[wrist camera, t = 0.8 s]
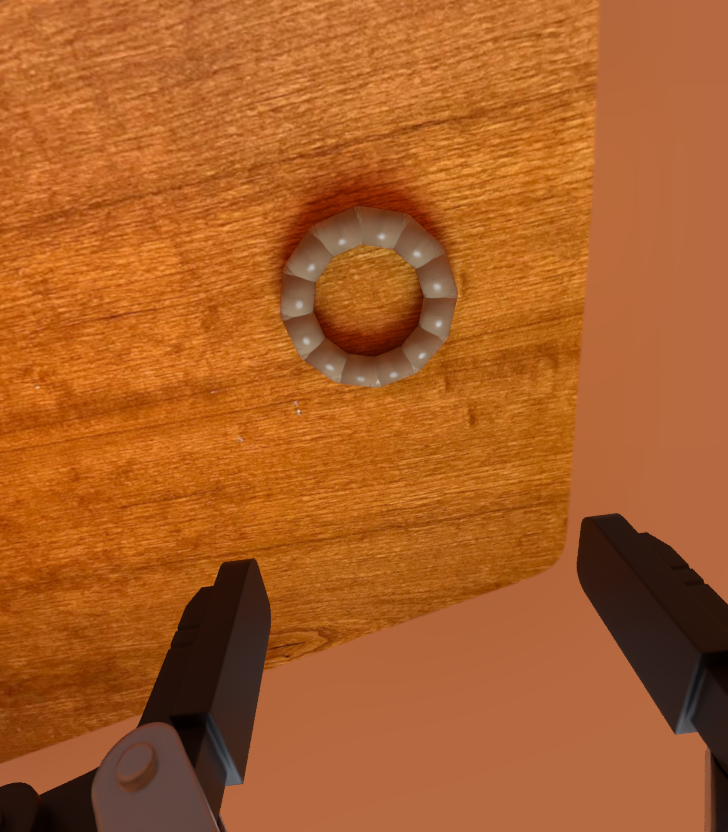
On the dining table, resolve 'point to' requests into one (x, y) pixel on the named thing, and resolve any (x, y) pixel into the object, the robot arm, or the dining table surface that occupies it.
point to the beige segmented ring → (341, 237)
